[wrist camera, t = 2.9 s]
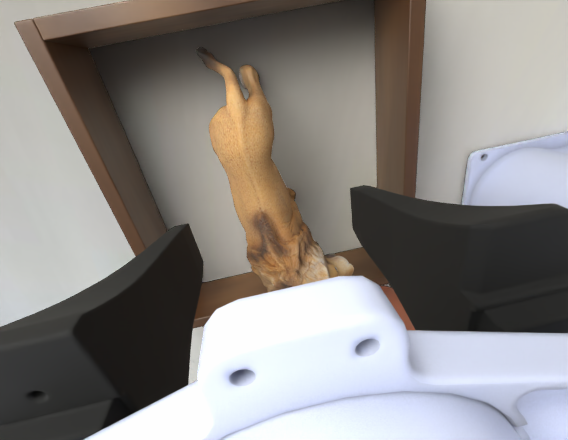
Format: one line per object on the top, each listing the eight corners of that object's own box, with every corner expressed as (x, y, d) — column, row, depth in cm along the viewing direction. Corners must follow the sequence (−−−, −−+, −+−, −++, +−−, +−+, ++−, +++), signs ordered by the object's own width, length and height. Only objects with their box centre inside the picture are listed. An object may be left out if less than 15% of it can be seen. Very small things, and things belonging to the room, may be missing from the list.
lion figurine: (329, 228, 23) (376, 311, 15) (270, 256, 23) (285, 351, 15) (238, 27, 16) (236, -21, 8) (156, 72, 16) (76, 71, 8)
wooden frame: (387, -26, 16) (429, -56, 12) (386, 249, 24) (411, 278, 21) (66, 33, 15) (11, 21, 11) (185, 294, 24) (175, 332, 20)
